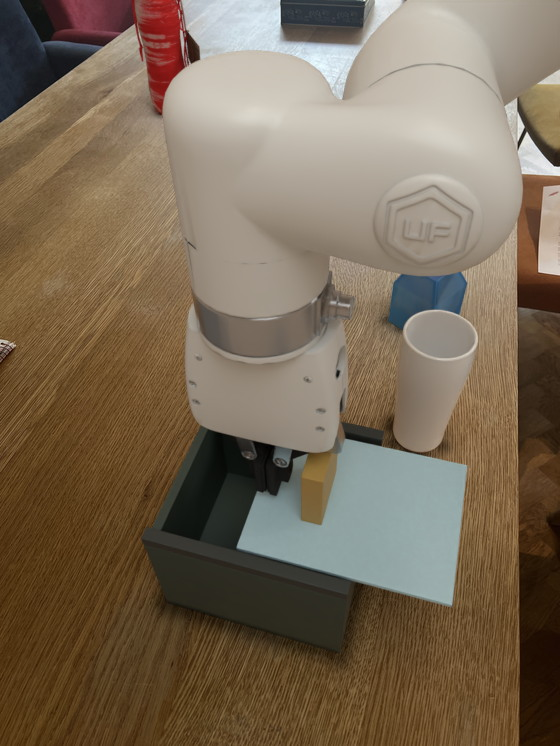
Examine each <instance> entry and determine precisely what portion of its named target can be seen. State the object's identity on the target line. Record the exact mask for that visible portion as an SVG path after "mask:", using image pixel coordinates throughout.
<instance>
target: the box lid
mask: <svg viewBox="0 0 560 746" xmlns="http://www.w3.org/2000/svg"><path fill="white" fill-rule="evenodd" d="M467 472H468V465H467V464H463V463H459V462H455V461H451V460H450V461H449V460H446V459H445V460H444V459H441V458H435V457H431V456H426V455H422V454H417V453H414V452H408V451H403V450H399V449H395V448H389V447H386V446H382V447H381V446H376V445H372V444H367V443H363V442H358V441H354V440H349V439H345V441H344V444H343V448H342V452H341V453H339V454H333V453H311V452H310V453H308V454H306V455H303V456H300V457H297V458H295V459H293V470H292V474H291V477H290V480H289V482H288V483H287V482H283V481H282V482H281V485H280V488H279V491H278V494H277V496H274V495H270V493H269V492H268V491H266V492H265V491H264V492H263V493H262V492H258V491H257V493H256V496H255V498H254V501H253V504H252V506H251V509H250V512H249V515H248V517H247V520H246V523H245V525H244V528H243V531H242V534H241V536H240V539H239V542H238V544H237V547H236V548H237V550H239V551H243V552H246V553H250V554H254V555H258V556H261V557H265V558H269V559H273V560H276V561H280V562H284V563H288V564H291V565H295V566H299V567H302V568H306V569H310V570H314V571H317V572H321V573H325V574H329V575H332V576H336V577H340V578H344V579H347V580H351V581H355V582H356V583H358V584H363V585H366V586H370V587H374V588H378V589H382V590H386V591H388V592H393V593H396V594H400V595H403V596H407V597H412V598H415V599H419V600H423V601H426V602H429V603H434V604H437V605H441V606H445V607H449V608H452V607H453V602H454V593H455V585H456V574H457V567H458V564H457V563H458V555H459V547H460V538H461V528H462V518H463V511H464V510H463V509H464V501H465V492H466V491H465V490H466V480H467Z"/></svg>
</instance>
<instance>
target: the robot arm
mask: <svg viewBox="0 0 560 746" xmlns="http://www.w3.org/2000/svg"><path fill="white" fill-rule="evenodd" d="M353 59H354V60H353V62H352V64H351V66H350V68H349V70H348V72H347V76H346V77H345V78H346V79H345V82H344V83H345V84H344V87H343V92H342V97H341V98H338V97H337V96H336V95H335V94H334V92H333V90H332V88H331V85H330V83H329V81H328V80H327V78H326V77H325V75H324V74H323V73H322V71H321V70H319V69H318V68H317V67H316V66H314V65H313V64H312V63H310V62H309V61H307V60H305V59H302V58H301V57H298V56H295V55H292V54H288V53H284V52H279V51H271V50H259V49H245V50H235V51H228V52H222V53H217V54H213V55H210V56H207V57H204V58H200V60H198V61H196V62H194V63H192V64H191V63H189V66H188V65H187V67H185V68H184V69H183V70H182V71H181V72H180V73H179V74H177V75H176V76H175V77H174V78H173V80H172V81H171V83H170V85H169V87H168V89H167V91H166V93H165V97H164V102H163V111H162V114H161V115H162V124H163V131H164V138H165V139H164V140H165V144H166V145H165V146H166V150H167V157H168V162H169V168H170V174H171V180H172V185H173V192H174V196H175V201H176V202H175V204H176V209H177V215H178V221H179V227H180V231H181V238H182V243H183V248H184V249H183V250H184V254H185V260H186V266H187V272H188V279H189V283H190V284H189V285H190V290H191V297H192V304H191V306H190V308H189V311H188V314H187V321H186V326H185V327H186V329H185V338H184V339H185V342H184V375H185V384H186V385H185V387H186V393H187V400H188V405H189V408H190V412H191V414H192V416H193V418H194V420H195V422H197V423H198V425H200V426H201V425H202V426H203V427H205V428H208V429H210V430H213V431H216V432H220V433H224V434H225V435H227V436H228V437H229V438H230V439H232V440H233V441H234V442H235V443H237V444H238V446H239V449H240V452H241V454H242V456H243V457H245V458H246V459H249V467H250V474H254V475H255V483H256V491H258V492H262V493H263V492H264V491H265V492H266V491H268V492H269V493H270V495H274V496H277V494H278V491H279V488H280V485H281V482H282V481H283V482H287V483H288V482H289V480H290V477H291V474H292V470H293V459H295V458H297V457H300V456H303V455H306V454H308V453H310V452H311V453H333V454H339V453H341V452H342V448H343V444H344V441H345V433H344V430H343V426H342V423H341V422H342V420H341V417H340V414H345V413H346V408H347V403H348V395H349V360H348V346H347V336H346V331H345V326H344V320H346V321H351V319H352V317H353V312H354V307H355V295H351V294H345V293H343V292H342V290H336V287H335V286H336V285H335V283H333V270H330V262H331V257H332V258H335V259H340V260H344V261H348V262H352V263H354V264H357V265H361V266H365V267H369V268H372V269H376V270H381V271H385V272H390V273H394V274H400V275H401V274H405V275H413V276H442V275H450V274H454V273H458V272H465V271H467V270H470V269H472V268H474V267H477V266H478V265H480V264H482V263H483V262H485V261H487V260H488V259H489V258H491V257H492V256H493V255H494V254H496V252H498V251H499V250H500V249H501V247H502V246H503V245H504V244H505V242H506V241H507V240H508V239H509V237H510V236H511V234H512V233H513V230H514V229H515V226H516V225H517V222H518V219H519V218H520V217H519V216H520V212H521V210H522V209H521V208H522V204H523V195H524V184H523V173H522V166H521V161H520V157H519V153H518V150H517V147H516V143H515V140H514V136H513V133H512V130H511V128H510V123H509V120H508V113H507V111H506V106H507V105H509V104H510V103H512V102H513V101H515V100H516V99H518V98H519V97H520V96H522V95H523V94H525V93H526V92H527V91H529V90H531V89H532V88H533V87H534V86H536V85H537V84H539V83H540V82H542V81H544V80H545V79H547V78H548V77H550V76H552V75H553V74H555V73H556V72H558V71H560V0H405V1H404V2H403V3H402V4H401V5H400V6H399V7H398V8H396V9H395V10H394V11H393V12H392V13H390V15H388V17H386V19H385V20H383V21H382V23H381V24H380V25H379V26H378V27H377V28H376V29H375V30H374V31H373V32H372V33H371V35H370V36H369V37H368V39H366V41H365V42H364V44H363V46H362V47H361V48H360V50H359V51H358V53H357V54H356V55H355V58H353Z"/></svg>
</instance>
